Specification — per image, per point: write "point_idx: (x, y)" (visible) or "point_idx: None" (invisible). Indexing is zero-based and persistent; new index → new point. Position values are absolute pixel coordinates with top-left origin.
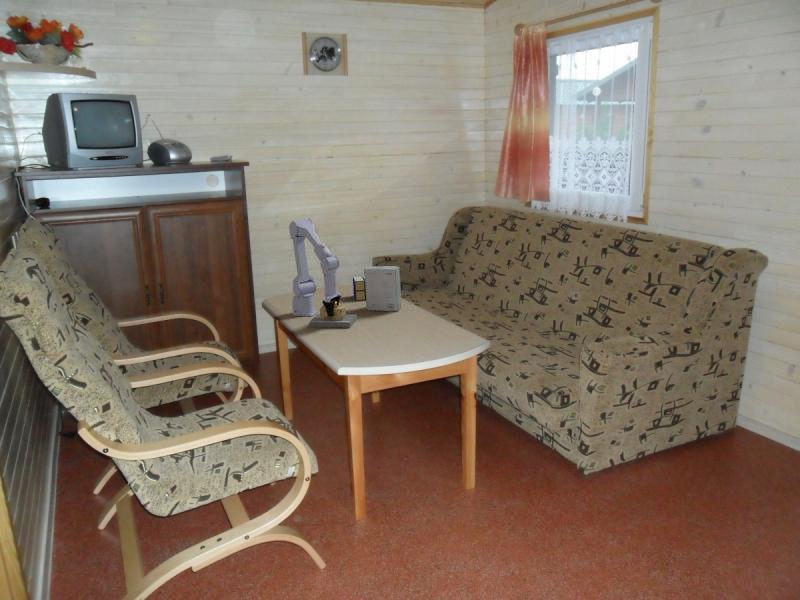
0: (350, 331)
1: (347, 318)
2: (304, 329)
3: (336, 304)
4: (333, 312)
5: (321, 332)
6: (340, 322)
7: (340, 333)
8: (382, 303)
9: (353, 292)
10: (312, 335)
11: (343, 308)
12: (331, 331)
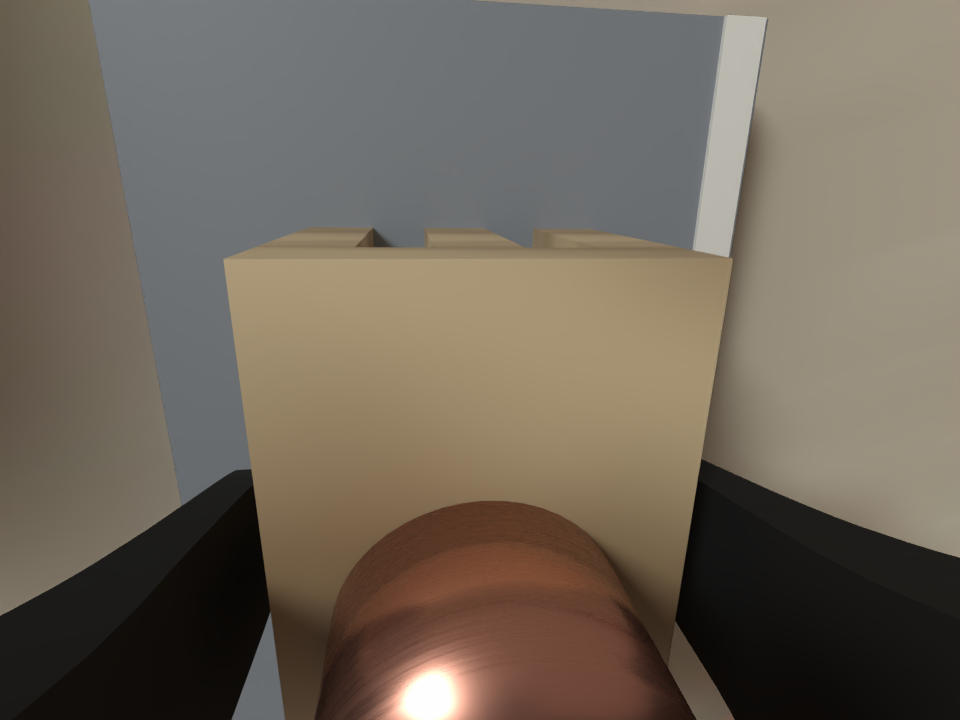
0: (894, 3)
1: (468, 150)
2: (700, 671)
3: (547, 577)
4: (714, 476)
5: (852, 449)
6: (730, 241)
7: (957, 164)
8: None
9: None
10: (945, 512)
11: (544, 254)
12: (834, 330)
